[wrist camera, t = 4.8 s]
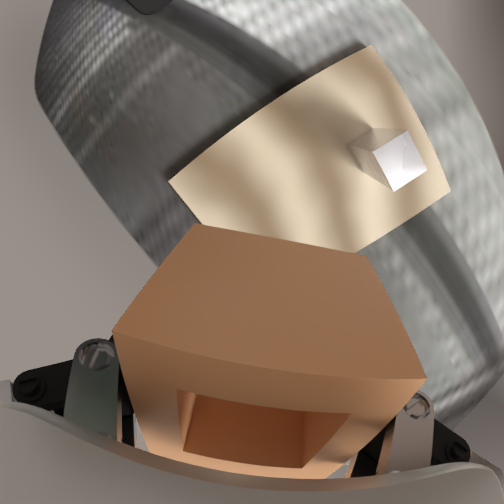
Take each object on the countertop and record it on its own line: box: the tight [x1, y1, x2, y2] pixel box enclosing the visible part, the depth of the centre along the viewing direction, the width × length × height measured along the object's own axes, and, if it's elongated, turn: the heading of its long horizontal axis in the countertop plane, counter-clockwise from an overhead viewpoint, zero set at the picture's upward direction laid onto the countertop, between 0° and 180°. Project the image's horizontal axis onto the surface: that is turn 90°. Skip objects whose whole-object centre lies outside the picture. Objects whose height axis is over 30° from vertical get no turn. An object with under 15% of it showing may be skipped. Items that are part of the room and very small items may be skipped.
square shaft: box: [346, 128, 427, 192], centre depth 16 cm, size 3×3×6 cm
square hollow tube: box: [112, 223, 427, 479], centre depth 8 cm, size 6×6×6 cm
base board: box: [168, 45, 450, 253], centre depth 21 cm, size 20×14×1 cm
